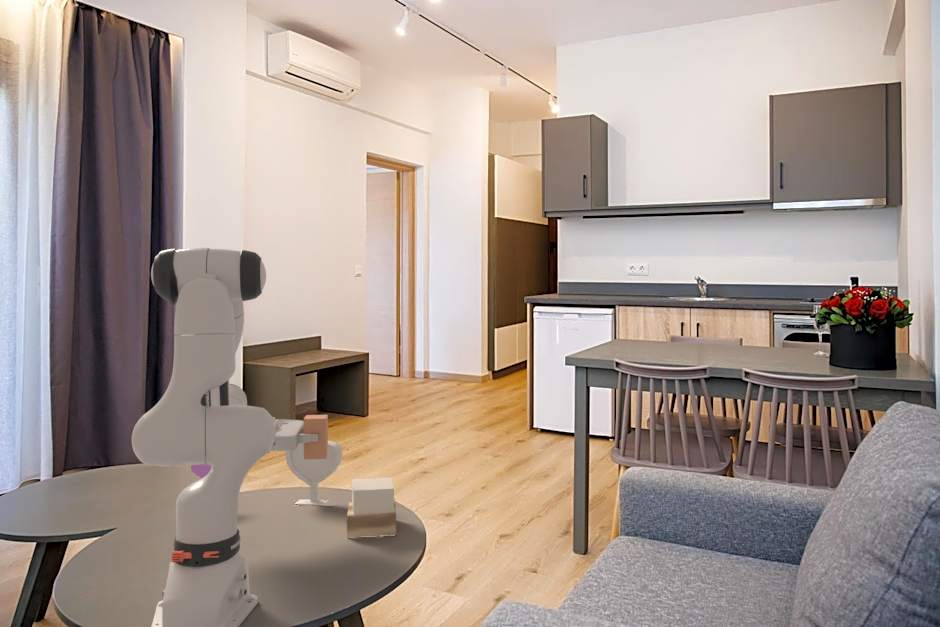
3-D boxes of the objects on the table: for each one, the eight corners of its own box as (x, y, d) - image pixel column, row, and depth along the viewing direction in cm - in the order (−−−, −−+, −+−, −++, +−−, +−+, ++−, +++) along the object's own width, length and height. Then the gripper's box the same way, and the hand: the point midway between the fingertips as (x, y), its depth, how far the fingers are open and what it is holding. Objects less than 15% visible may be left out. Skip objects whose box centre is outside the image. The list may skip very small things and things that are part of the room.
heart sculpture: (284, 504, 196) (284, 441, 196) (291, 499, 201) (291, 438, 201) (337, 507, 195) (337, 443, 194) (343, 501, 200) (343, 439, 199)
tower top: (394, 512, 173) (394, 488, 173) (353, 514, 171) (353, 490, 171) (390, 499, 183) (390, 477, 183) (352, 502, 181) (352, 479, 181)
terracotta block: (326, 458, 171) (326, 418, 171) (303, 459, 171) (303, 418, 170) (327, 453, 177) (327, 414, 176) (306, 454, 176) (306, 415, 176)
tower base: (395, 537, 172) (395, 513, 172) (347, 539, 171) (346, 515, 170) (395, 521, 184) (395, 499, 184) (349, 523, 183) (349, 500, 182)
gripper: (254, 431, 161) (315, 430, 163) (269, 415, 182) (323, 414, 183) (255, 458, 162) (315, 456, 163) (269, 439, 182) (323, 438, 184)
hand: (319, 434), depth 173 cm, fingers closed on terracotta block, 5 cm apart
